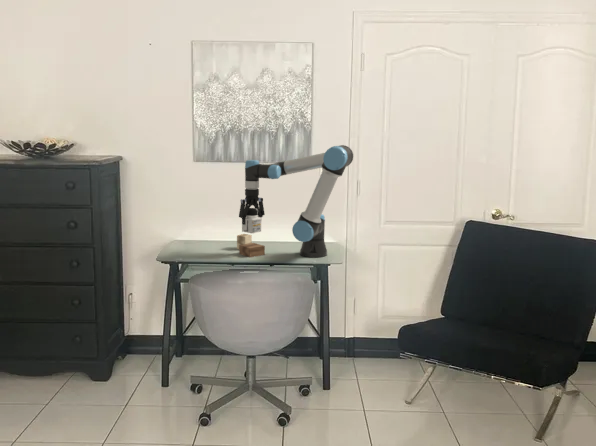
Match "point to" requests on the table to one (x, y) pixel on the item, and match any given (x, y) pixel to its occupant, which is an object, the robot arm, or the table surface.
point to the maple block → (243, 239)
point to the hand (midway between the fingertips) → (251, 229)
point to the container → (253, 221)
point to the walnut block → (251, 249)
